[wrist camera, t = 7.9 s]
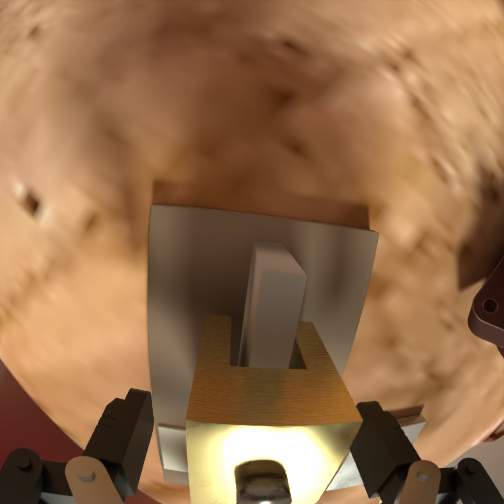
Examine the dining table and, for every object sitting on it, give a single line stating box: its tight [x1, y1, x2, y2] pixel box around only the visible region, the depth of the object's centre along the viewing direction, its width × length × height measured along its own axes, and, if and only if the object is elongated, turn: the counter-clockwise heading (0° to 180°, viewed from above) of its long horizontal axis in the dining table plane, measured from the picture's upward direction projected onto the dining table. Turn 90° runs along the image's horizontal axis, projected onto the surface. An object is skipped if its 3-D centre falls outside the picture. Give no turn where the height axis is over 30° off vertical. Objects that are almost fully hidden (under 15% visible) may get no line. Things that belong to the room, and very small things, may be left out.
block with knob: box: [185, 314, 363, 504], centre depth 9 cm, size 6×4×7 cm
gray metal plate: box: [326, 414, 427, 491], centre depth 17 cm, size 8×6×1 cm
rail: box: [148, 204, 379, 485], centre depth 11 cm, size 20×10×8 cm, turn 173°
